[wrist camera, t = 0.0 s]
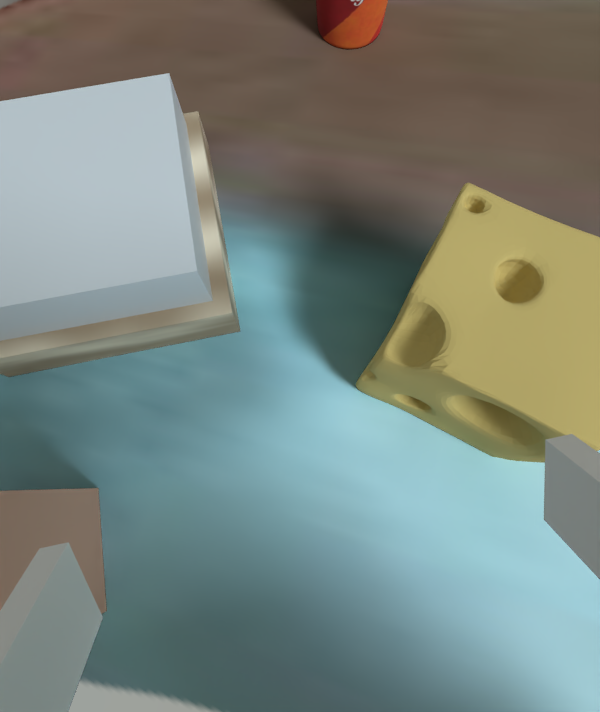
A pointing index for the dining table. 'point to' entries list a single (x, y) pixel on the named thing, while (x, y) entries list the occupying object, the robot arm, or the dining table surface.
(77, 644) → the robot arm
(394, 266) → the dining table surface
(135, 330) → the tower base
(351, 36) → the paper cup
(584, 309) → the cheese
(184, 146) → the tower top
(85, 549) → the terracotta block
